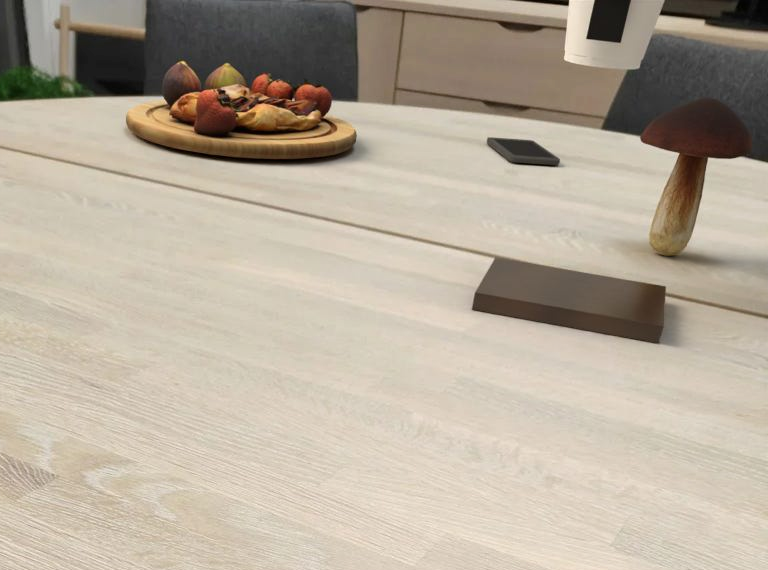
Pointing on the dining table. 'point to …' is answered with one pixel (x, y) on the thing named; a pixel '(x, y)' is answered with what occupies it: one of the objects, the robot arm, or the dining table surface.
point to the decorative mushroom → (691, 163)
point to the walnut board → (573, 299)
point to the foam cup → (610, 54)
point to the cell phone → (522, 151)
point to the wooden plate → (241, 117)
